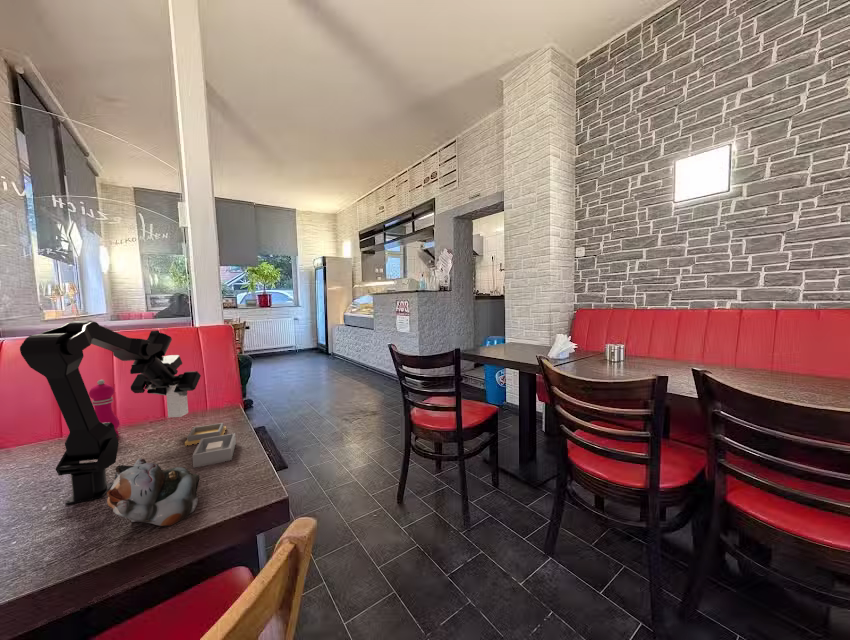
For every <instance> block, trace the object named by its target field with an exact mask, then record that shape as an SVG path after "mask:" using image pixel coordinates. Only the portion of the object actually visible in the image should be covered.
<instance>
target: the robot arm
mask: <svg viewBox="0 0 850 640" xmlns="http://www.w3.org/2000/svg"><path fill="white" fill-rule="evenodd" d="M172 341H173V339H172V337H171V336H170V335H168V334H165V333H163V332H160V331H159V330H151V331H150V332H149V335H148V337H147V339H145V338H135V337H134V338H133V337H129V336H125V335H123V334H121V333H119V332H117V331H114V330H111V329H110V328H107V327H104V326H103V325H100V324H99V323H98V322H97V321H93V320H76V321H70V322H67V323H65V324H63V325H62V326H58V327H55V328H52V329H49V330H45V331H42V332H39V333H38V334H32V335H29V336H27V337H26V338H25V339H24V340H23V342H22V343H21V344H20V346H19V352H20V354H21V356H22V358H23V359H24V361H25V362H26V364H27V365H28V366H29V368H31V369H32V370H34V371H36V373H38V374H41V376H43V377H44V378H45V379H46V380H47V383H48V385H49V387H50V390H51V392H52V393H53V396H54V399H55V401H56V403H57V406H58V408H59V410H60V413H61V414H62V417H63V420H64V421H65V423H66V426H67V429H68V431H69V433H68V435H67V437H66V440H65V442H64V447H65V451H64V453H63V455H62V457H61V459H60V460H59V462H58V464H57V466H56V467H55V472H56V473H57V475H58V476H65V475H66V476H67V475H70V482H71V493H72V495H71V496H70V497H69V498H68V499H67V500H65V502H64V505H65V506H68V505H71V504H76V503H81V502H86V501H90V500H94V499H95V500H96V499H101V498H103V497H104V496H105V494H106V495H107V492H108V491H109V490H110V489H111V487H112V485H113V484H114V481H113V482H107V472H106V469H108V468H110V466H112V465H114V464H116V461H117V455H118V450H119V440H118V437H119V436H118V434H117V433H116V431H115V428H114V425H113V424H112V423H111V422H110V423H101V422H100V421H99V420H98V417H97V415H96V412H95V407H94V405H92V404H93V402H92V398H91V397H90V396H89V392H88V390H87V387H86V384H85V382H84V380H83V377H82V374H81V372H80V369H79V368H80V365H81V364H82V360H83V358H84V357H85V356H84V350H86V349H87V348H88V347H90V346H91V345H93V346H97V347H99V348H102V349H105V350H107V351H110V352H112V355H113V356H114V357H115V358H117V359H118V360H120V361H123V362H130V361H133V363H132V364H131V368H130V370H129V371H130V372H129V373H130V374H131V375H136V376H135V378H134V379H133V382H132V383H131V385H130V391H132V392H133V393H134V394H144V393H145V391H146V390H147V392H146V393H147V394H152V395H161V396H166V397H167V395H166V388H168V387H169V386H175V385H176V388H175V390H174V392H175V393H178V394H181V395H184V396H187V397H188V392H190V391H192V392H193V391H194V390H196V388H197V386H198V383H199V381H200V379H201V376H202V375H201V373H199V371H198V370H196V371H195V370H193V371H191V370H190V371H185V372H183V373H180V374H178V372H179V371H178V370H177V369H178V368H179V367H180V366H182V365H183V361H182V359H181V356H180V355H179V354H171V355H170V354H169V355H166V353H167V351H168V350H169V347H170V346H171V342H172ZM177 374H178V375H177ZM116 436H118V437H116ZM85 461H86V462H85ZM88 461H89V462H88Z"/></svg>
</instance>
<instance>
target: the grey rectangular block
mask: <svg viewBox="0 0 850 640" xmlns="http://www.w3.org/2000/svg"><path fill="white" fill-rule="evenodd" d="M175 388H176V385H175V386H169V387H168V388H166V395H167V396H166V406H167V407H166V408H167V417H168V418H181V417H184V416H185V415H187V414H189V404H188V395H187V396H184V395H181V394H178V393H175V392H174V390H175Z"/></svg>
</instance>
